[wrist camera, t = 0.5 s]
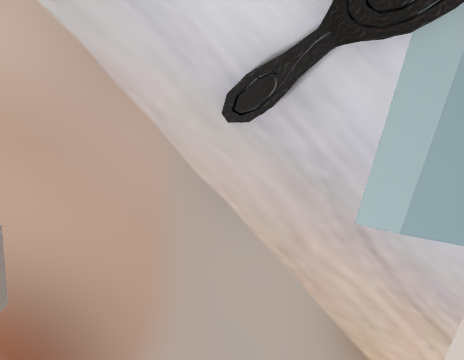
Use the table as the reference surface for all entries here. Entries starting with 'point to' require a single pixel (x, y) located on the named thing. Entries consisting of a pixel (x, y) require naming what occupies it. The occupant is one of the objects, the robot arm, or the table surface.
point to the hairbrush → (328, 48)
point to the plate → (423, 140)
